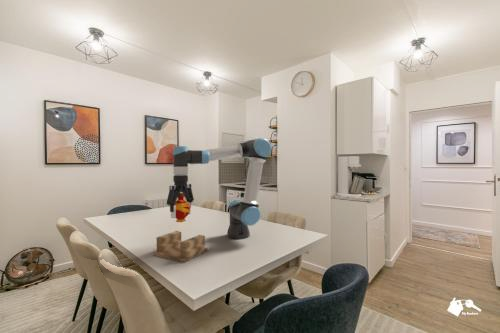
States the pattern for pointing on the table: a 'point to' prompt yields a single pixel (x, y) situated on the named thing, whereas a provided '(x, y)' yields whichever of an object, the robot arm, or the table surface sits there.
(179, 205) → the potion bottle
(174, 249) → the notched wooden block
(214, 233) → the table surface
